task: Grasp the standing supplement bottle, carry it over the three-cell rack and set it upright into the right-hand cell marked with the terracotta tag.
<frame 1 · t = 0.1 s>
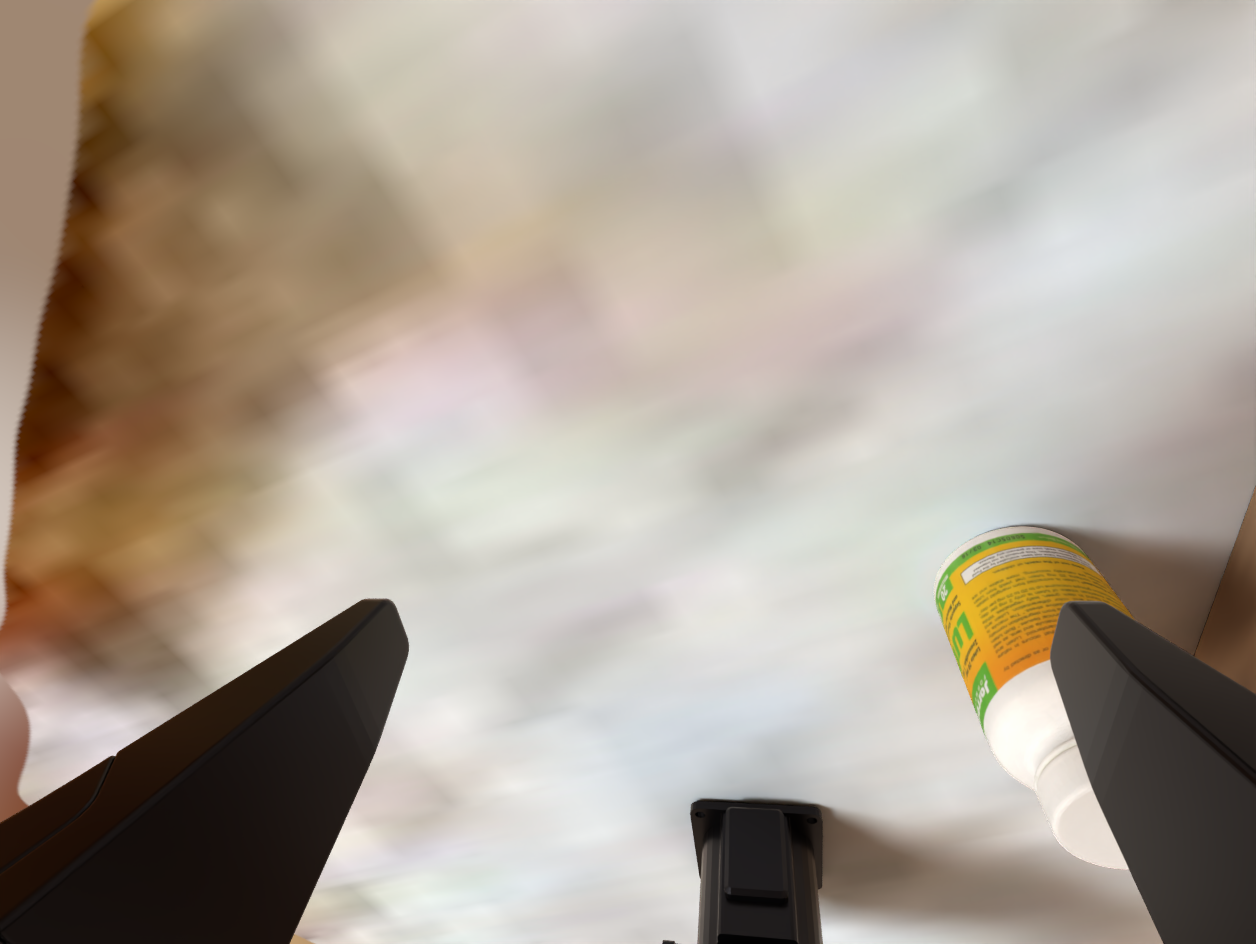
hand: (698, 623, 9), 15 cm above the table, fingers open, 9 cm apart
supplement bottle: (1005, 577, 25), on the table
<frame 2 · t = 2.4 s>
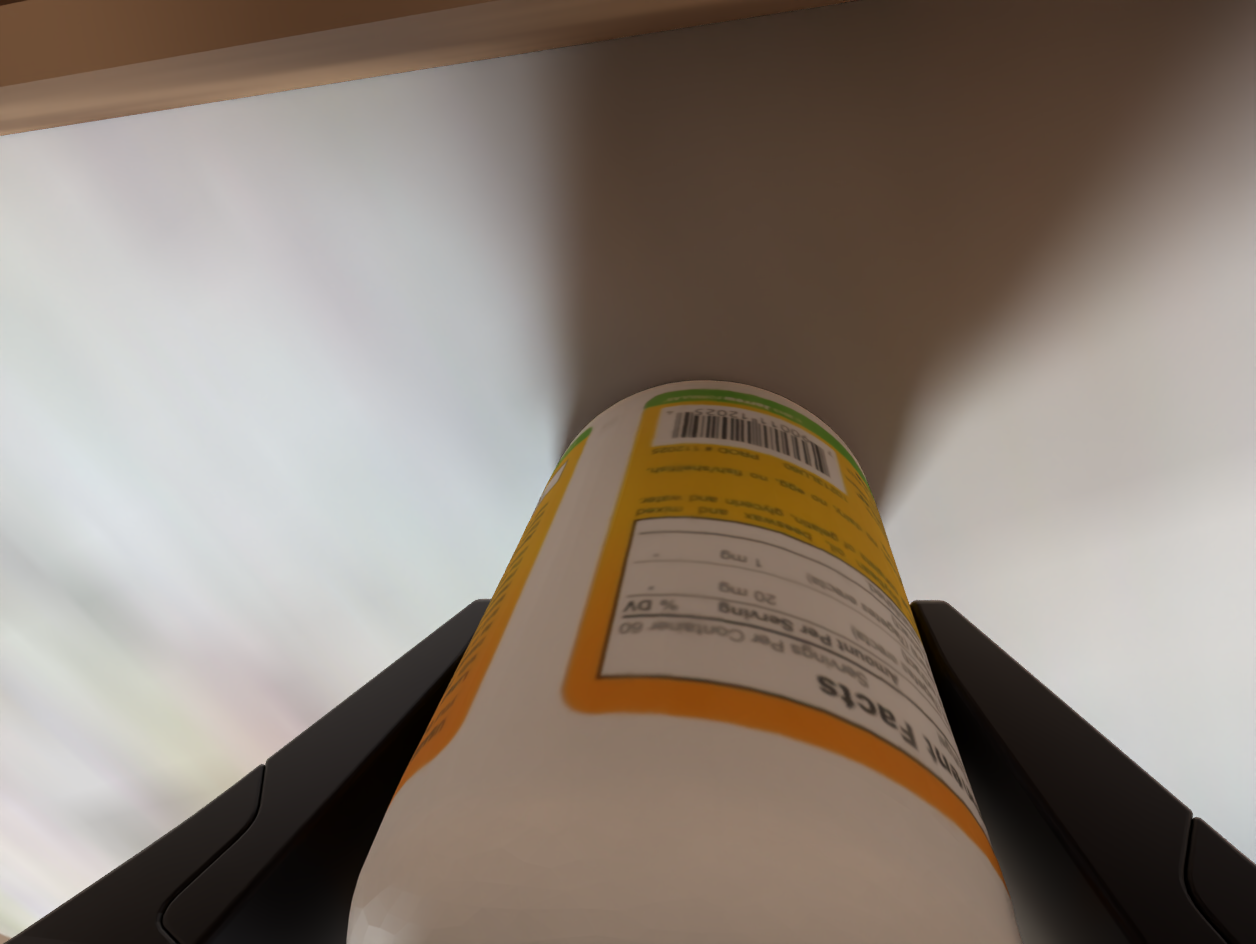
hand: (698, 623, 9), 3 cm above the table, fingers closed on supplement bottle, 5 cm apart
supplement bottle: (706, 514, 11), on the table, touching gripper
when the fingers open (4 cm above the table, at t = 7.4 s): supplement bottle drops 2 cm, resting in bottle rack.
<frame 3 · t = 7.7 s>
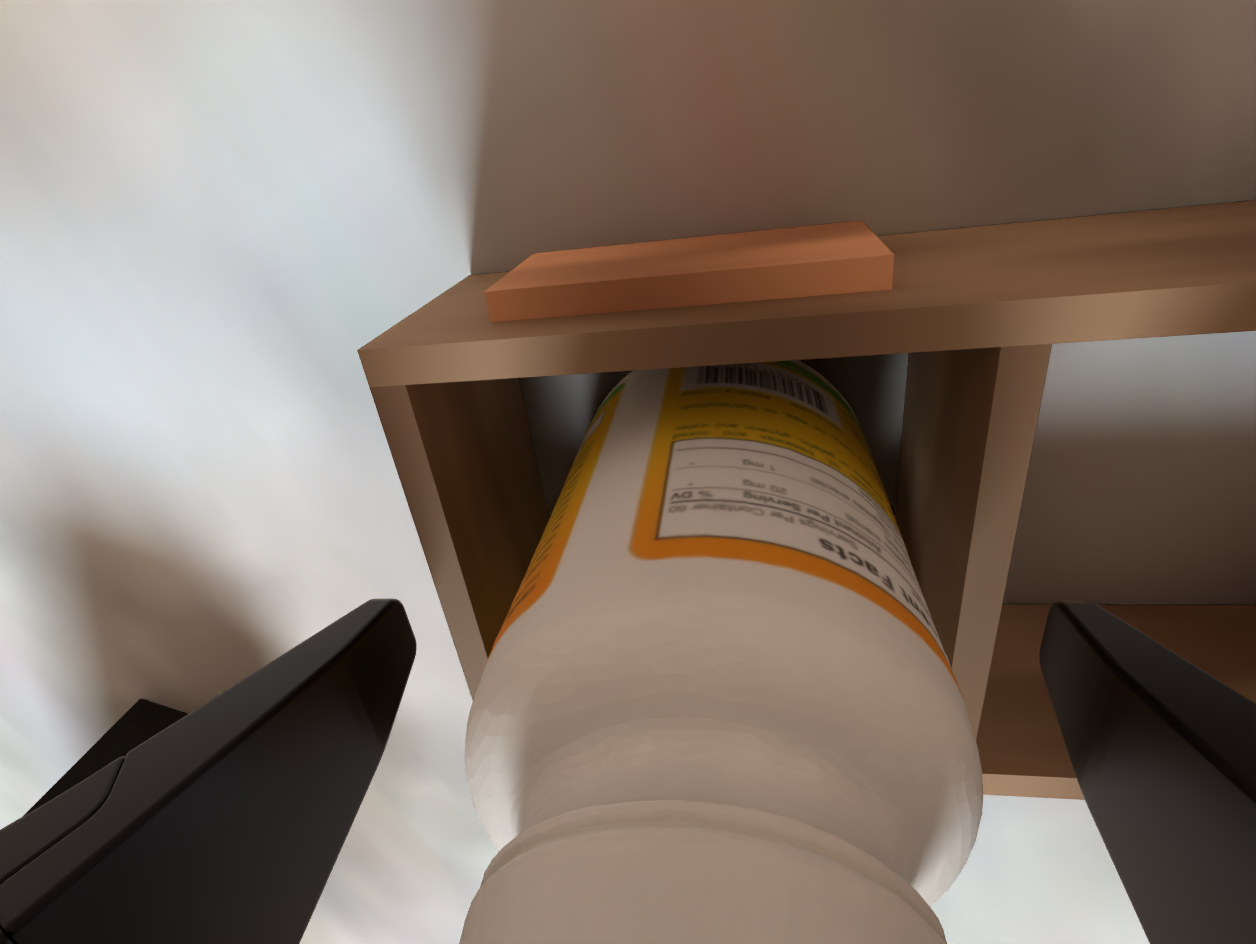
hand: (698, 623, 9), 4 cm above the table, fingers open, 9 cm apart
supplement bottle: (721, 462, 13), resting in bottle rack
digital camera: (237, 813, 23), on the table
bottle rack: (1143, 448, 11), on the table
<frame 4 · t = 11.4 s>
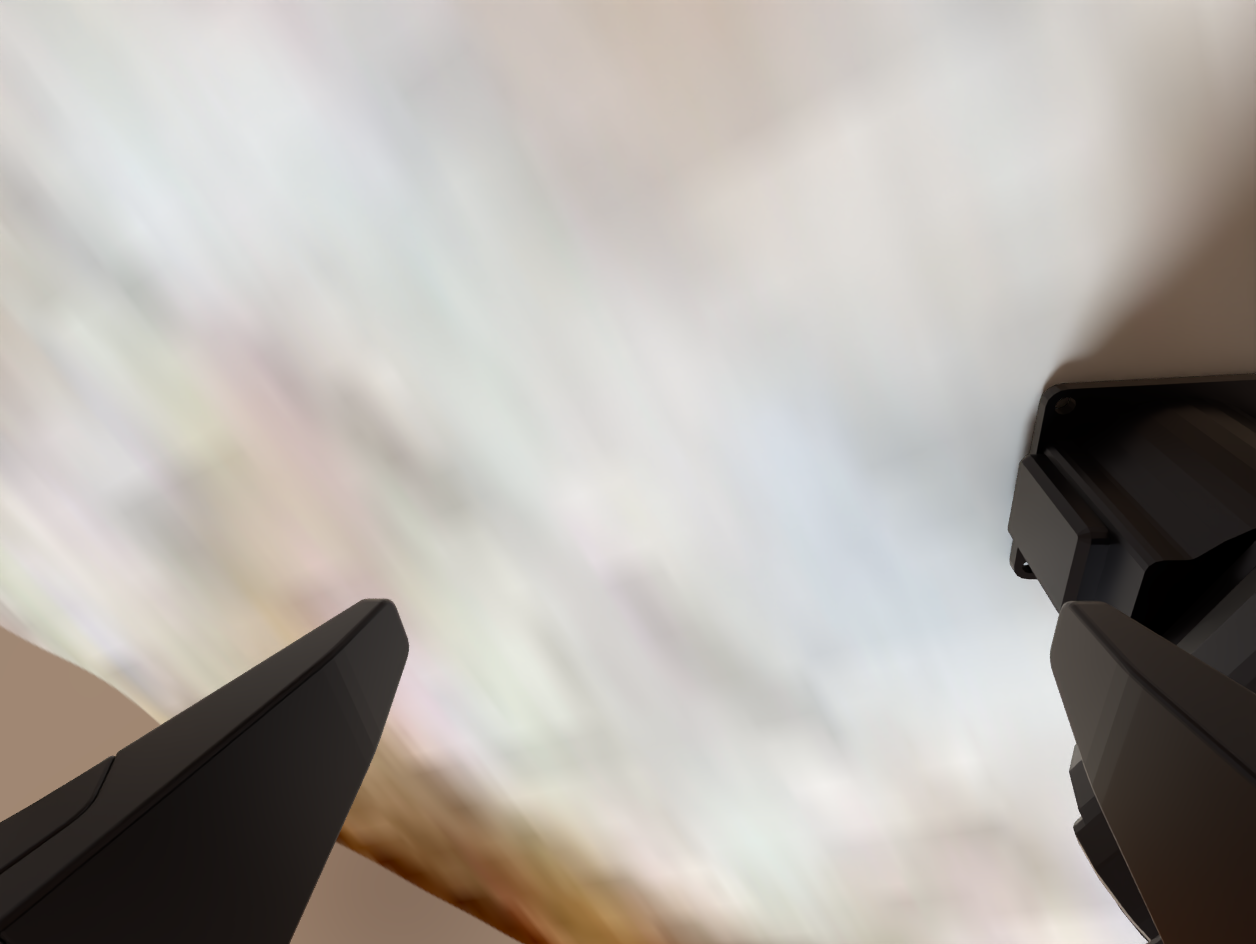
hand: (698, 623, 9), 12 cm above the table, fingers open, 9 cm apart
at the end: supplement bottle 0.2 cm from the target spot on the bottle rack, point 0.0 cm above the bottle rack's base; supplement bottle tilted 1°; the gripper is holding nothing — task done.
